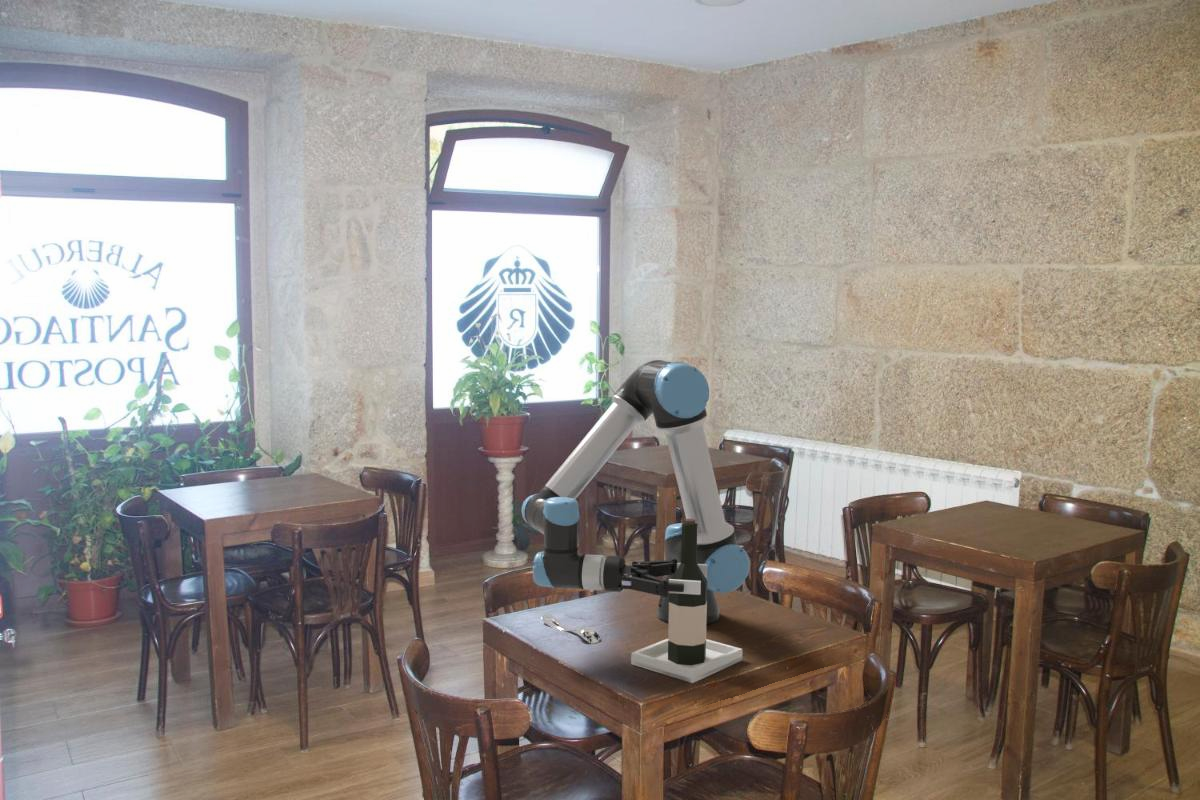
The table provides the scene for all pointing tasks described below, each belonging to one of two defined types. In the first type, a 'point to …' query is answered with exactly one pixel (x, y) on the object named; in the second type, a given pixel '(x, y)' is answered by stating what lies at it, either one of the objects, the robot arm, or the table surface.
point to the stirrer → (585, 633)
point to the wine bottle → (688, 606)
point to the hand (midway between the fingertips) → (704, 579)
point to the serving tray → (658, 662)
